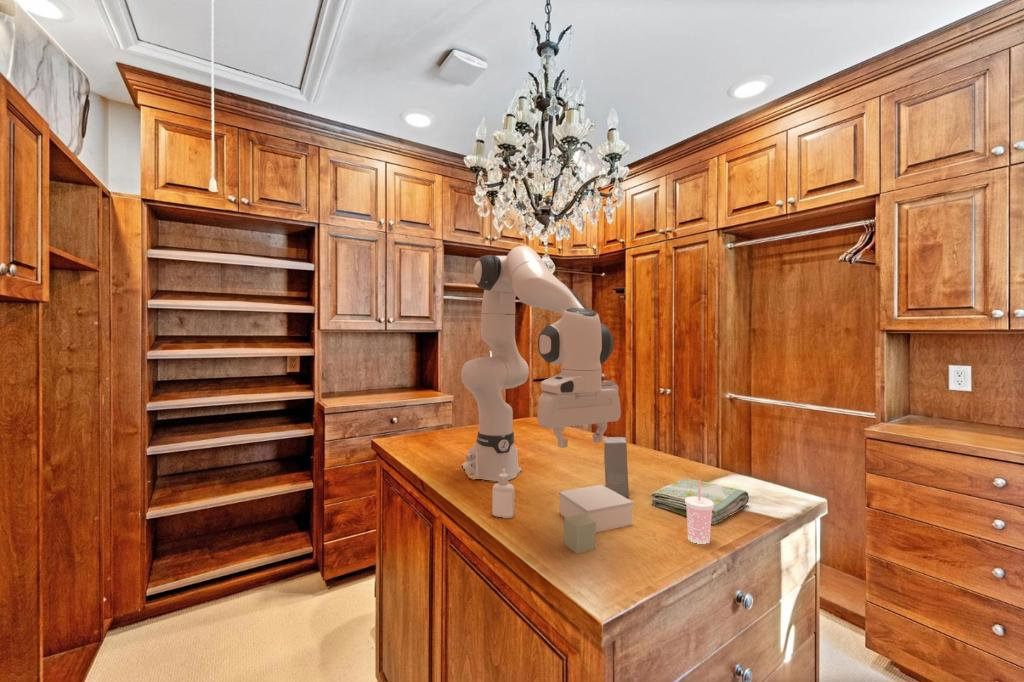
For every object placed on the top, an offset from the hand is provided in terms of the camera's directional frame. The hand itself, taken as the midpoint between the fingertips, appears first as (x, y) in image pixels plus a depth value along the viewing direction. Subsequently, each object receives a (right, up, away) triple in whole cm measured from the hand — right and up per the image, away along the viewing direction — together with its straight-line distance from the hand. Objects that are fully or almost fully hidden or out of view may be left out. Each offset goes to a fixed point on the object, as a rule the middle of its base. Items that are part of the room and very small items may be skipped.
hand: (580, 444), depth 99 cm
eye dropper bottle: (-17, -22, +16) cm, 33 cm away
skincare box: (+16, -22, +33) cm, 43 cm away
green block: (0, -23, +1) cm, 23 cm away
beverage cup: (+28, -23, +4) cm, 36 cm away
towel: (+36, -23, +24) cm, 49 cm away
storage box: (+6, -23, +15) cm, 28 cm away
